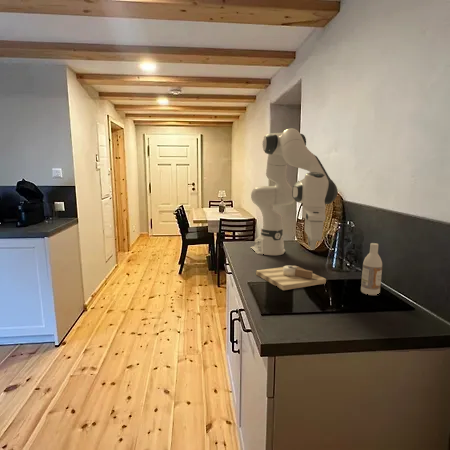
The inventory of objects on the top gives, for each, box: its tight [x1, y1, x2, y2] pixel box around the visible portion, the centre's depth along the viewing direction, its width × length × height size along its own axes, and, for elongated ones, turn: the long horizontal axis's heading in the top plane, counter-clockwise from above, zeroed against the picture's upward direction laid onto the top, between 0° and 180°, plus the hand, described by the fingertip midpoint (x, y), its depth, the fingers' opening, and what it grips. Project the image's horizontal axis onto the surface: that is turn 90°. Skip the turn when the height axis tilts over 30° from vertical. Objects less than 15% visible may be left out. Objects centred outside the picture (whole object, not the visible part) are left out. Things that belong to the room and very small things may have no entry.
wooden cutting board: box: [255, 265, 327, 291], centre depth 147 cm, size 22×22×2 cm
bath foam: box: [360, 242, 383, 296], centre depth 130 cm, size 7×7×20 cm
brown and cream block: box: [282, 264, 313, 279], centre depth 144 cm, size 13×6×4 cm, turn 54°
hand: (311, 247), depth 133 cm, fingers open, 4 cm apart
